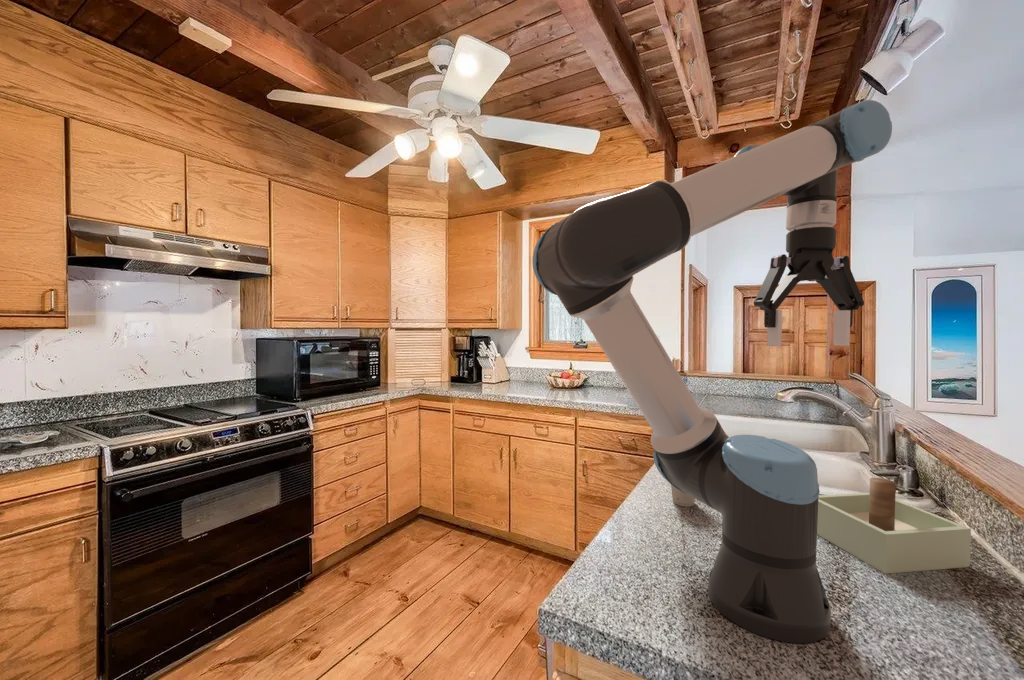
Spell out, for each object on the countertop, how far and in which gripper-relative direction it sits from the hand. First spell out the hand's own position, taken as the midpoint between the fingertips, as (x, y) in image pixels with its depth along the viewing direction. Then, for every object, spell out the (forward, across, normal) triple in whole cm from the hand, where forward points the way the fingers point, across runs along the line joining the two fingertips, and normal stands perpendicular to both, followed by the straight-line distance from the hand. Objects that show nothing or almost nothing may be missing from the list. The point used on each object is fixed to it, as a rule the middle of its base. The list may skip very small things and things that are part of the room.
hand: (808, 346), depth 80 cm
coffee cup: (+37, -13, +20) cm, 44 cm away
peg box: (+37, +13, -3) cm, 39 cm away
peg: (+37, +13, -3) cm, 39 cm away
